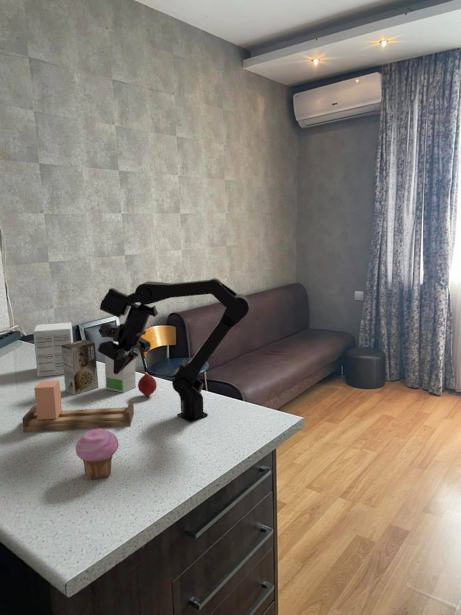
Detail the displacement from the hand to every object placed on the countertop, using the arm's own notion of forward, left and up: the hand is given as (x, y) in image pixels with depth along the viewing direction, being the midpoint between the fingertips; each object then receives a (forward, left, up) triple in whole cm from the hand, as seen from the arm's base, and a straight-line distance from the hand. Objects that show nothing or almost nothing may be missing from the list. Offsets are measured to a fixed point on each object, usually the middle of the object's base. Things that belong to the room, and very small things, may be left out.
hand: (115, 373), depth 128 cm
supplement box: (+57, -6, -13) cm, 59 cm away
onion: (+7, -15, -13) cm, 21 cm away
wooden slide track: (+3, +10, -13) cm, 16 cm away
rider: (+9, +16, -11) cm, 21 cm away
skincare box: (+20, -13, -13) cm, 27 cm away
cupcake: (-26, +19, -13) cm, 35 cm away
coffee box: (+29, -3, -13) cm, 32 cm away
